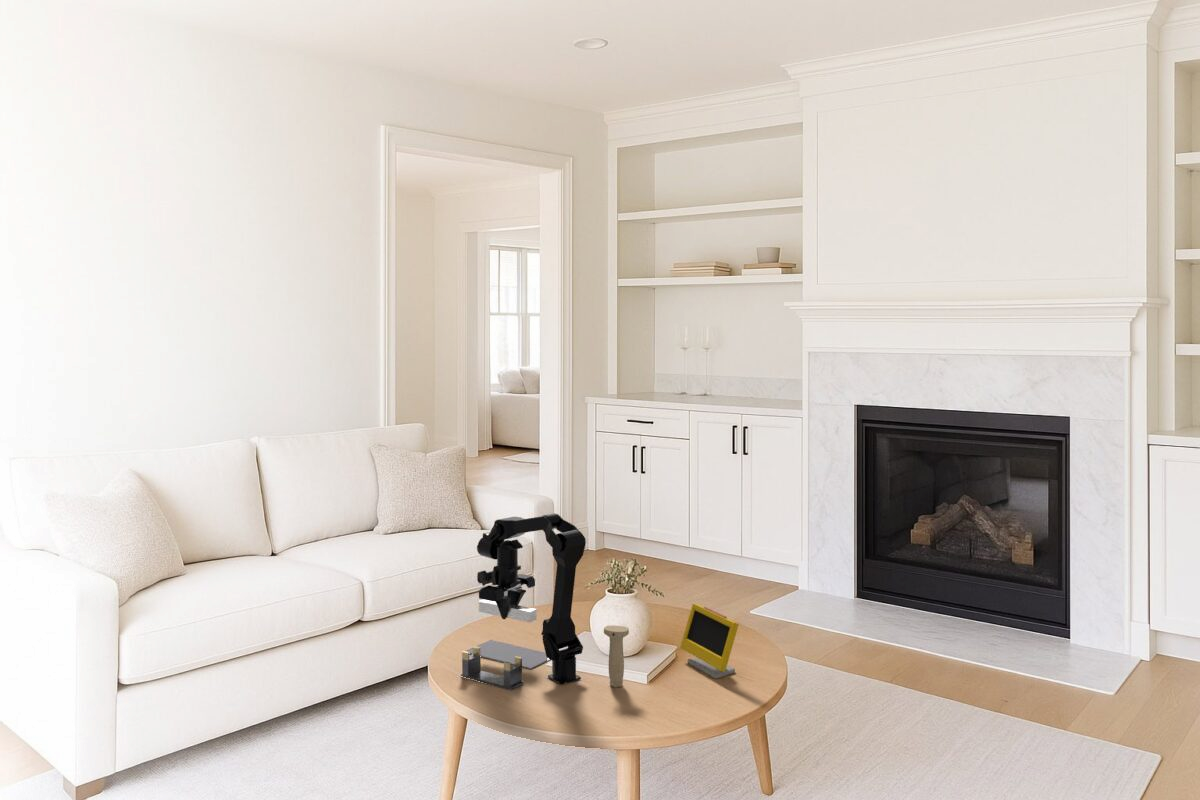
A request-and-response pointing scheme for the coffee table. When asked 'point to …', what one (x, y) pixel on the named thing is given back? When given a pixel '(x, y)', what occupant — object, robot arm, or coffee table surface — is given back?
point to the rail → (509, 611)
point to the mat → (510, 653)
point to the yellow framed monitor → (709, 641)
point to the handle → (616, 653)
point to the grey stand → (508, 681)
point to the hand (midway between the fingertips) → (507, 617)
